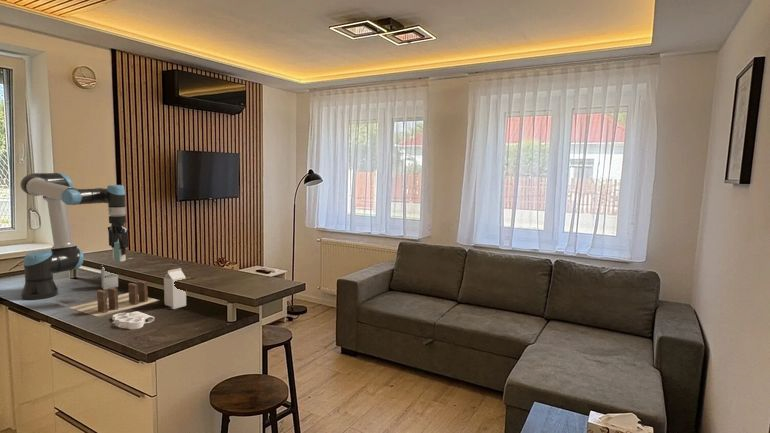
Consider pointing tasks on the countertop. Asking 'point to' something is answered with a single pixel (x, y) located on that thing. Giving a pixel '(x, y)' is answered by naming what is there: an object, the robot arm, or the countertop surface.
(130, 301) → the domino
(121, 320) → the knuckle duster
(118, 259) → the domino
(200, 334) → the countertop surface
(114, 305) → the domino
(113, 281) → the supplement box
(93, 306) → the birch board
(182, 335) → the countertop surface
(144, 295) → the domino
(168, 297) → the milk carton
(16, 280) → the countertop surface
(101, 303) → the domino
